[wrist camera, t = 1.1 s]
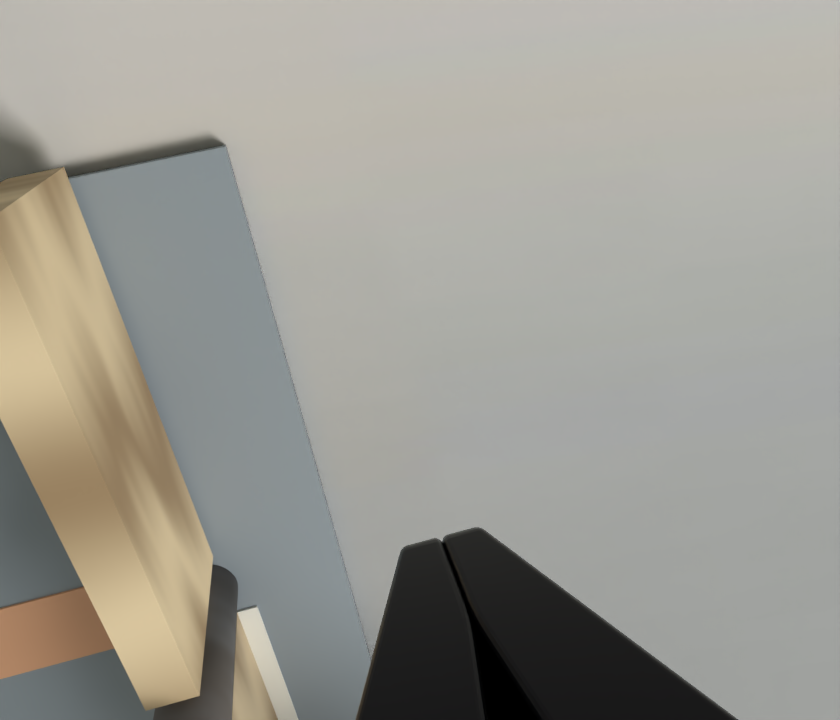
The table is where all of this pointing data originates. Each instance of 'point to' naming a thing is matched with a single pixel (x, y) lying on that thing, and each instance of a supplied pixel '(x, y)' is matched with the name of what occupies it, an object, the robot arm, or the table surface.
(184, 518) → the fence panel
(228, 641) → the fence base
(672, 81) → the table surface
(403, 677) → the robot arm
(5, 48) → the table surface
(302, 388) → the table surface
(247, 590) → the card
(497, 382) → the table surface
